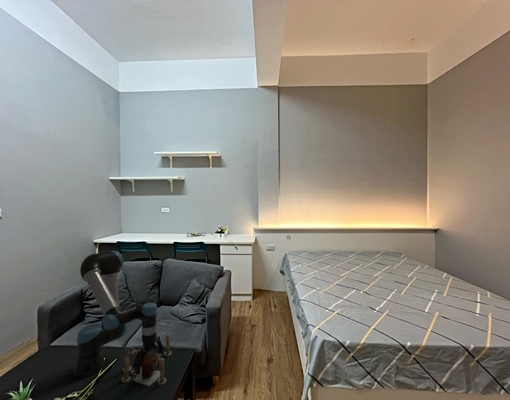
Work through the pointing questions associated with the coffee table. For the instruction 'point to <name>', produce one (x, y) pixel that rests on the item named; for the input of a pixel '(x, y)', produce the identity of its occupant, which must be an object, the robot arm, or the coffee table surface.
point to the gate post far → (167, 346)
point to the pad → (149, 379)
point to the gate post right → (161, 373)
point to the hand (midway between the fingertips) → (149, 371)
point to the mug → (149, 365)
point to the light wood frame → (126, 365)
